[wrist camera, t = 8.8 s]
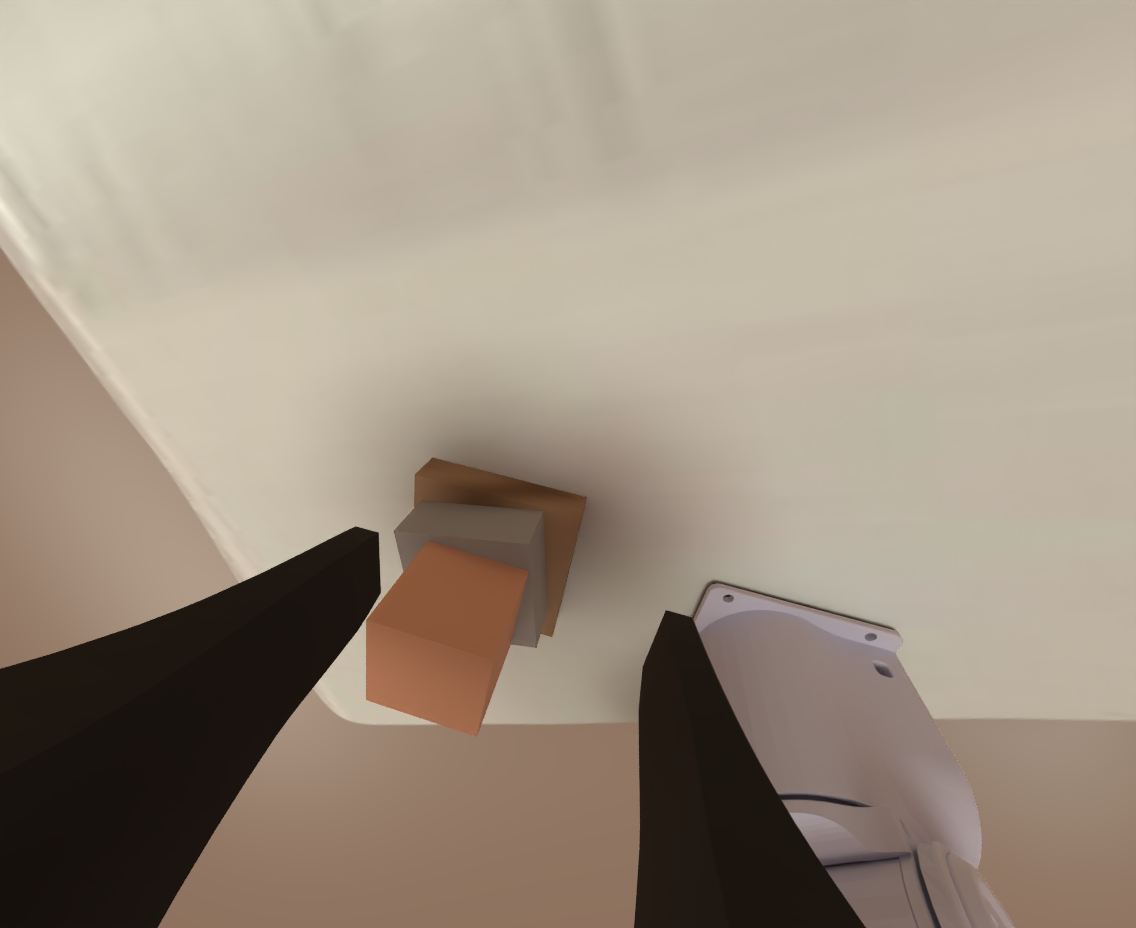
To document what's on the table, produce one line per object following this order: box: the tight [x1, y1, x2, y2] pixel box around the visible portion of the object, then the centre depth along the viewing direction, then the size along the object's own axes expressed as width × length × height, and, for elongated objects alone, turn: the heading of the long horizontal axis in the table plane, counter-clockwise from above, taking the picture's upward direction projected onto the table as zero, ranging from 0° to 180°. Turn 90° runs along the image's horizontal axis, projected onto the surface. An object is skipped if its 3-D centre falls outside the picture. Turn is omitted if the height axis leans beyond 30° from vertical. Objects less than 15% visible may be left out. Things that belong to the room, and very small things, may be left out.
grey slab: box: [394, 501, 548, 648], centre depth 21 cm, size 6×6×2 cm
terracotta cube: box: [366, 541, 529, 736], centre depth 17 cm, size 4×4×4 cm
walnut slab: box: [414, 458, 587, 637], centre depth 23 cm, size 8×8×2 cm
